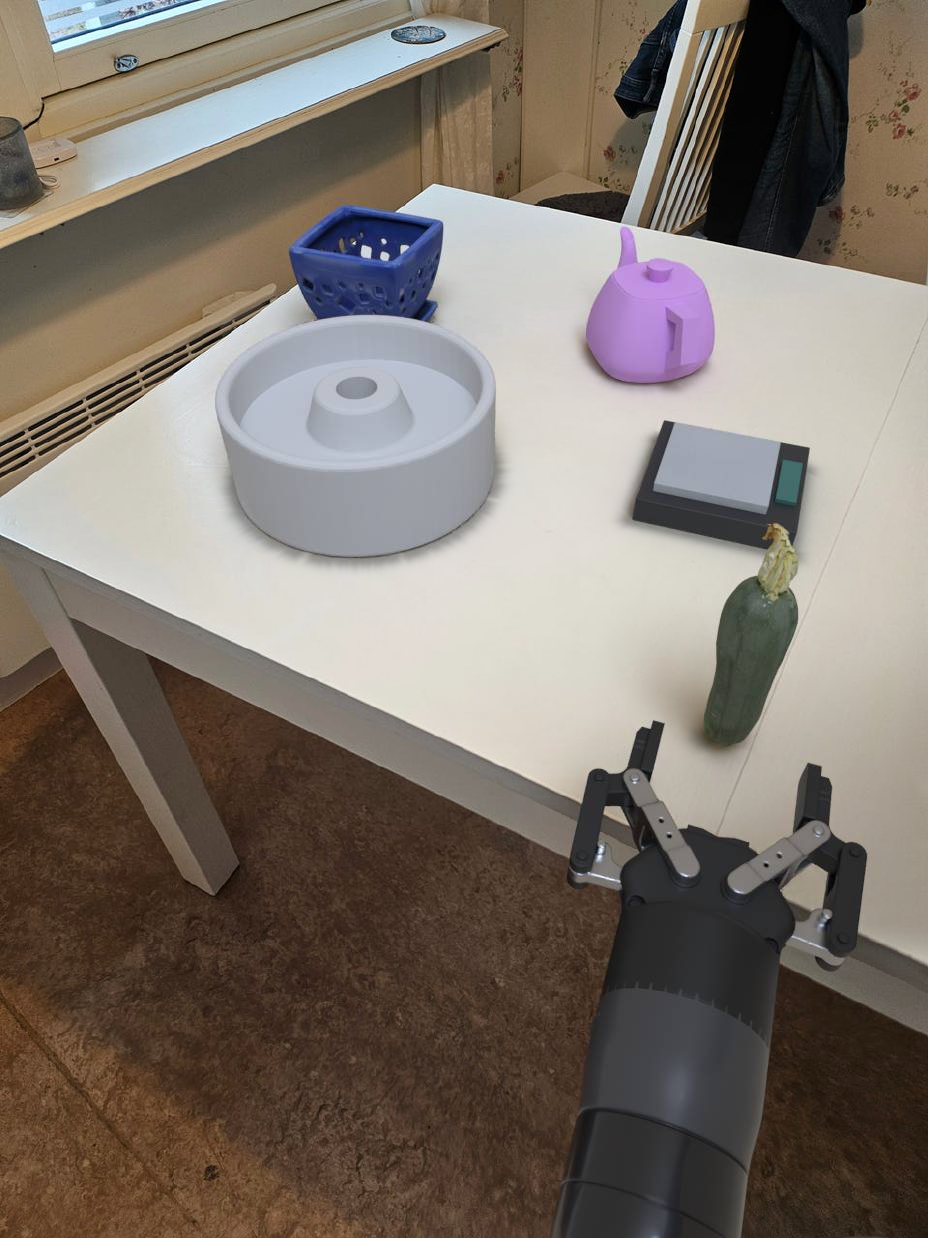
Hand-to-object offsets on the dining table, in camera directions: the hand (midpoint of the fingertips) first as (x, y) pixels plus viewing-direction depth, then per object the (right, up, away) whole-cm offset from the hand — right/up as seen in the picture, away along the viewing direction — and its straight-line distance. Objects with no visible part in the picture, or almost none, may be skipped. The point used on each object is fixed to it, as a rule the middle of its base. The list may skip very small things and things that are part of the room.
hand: (731, 750), depth 49 cm
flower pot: (-26, +41, +54) cm, 73 cm away
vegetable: (+3, -2, +14) cm, 14 cm away
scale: (+9, +19, +33) cm, 39 cm away
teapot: (+5, +37, +50) cm, 63 cm away
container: (-25, +22, +36) cm, 49 cm away
